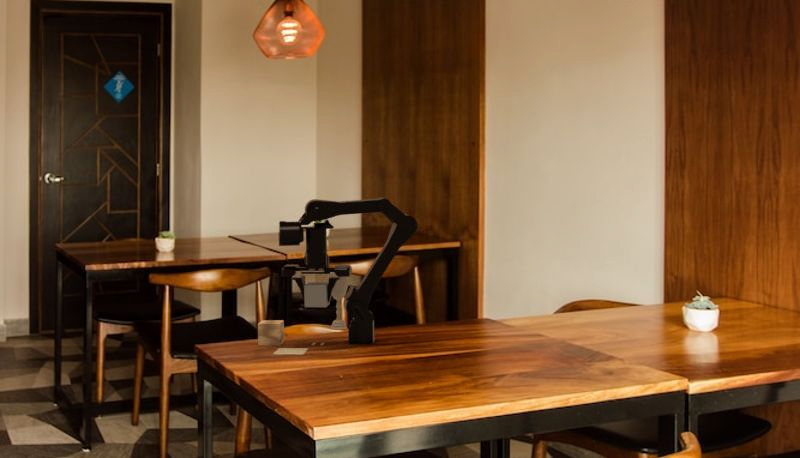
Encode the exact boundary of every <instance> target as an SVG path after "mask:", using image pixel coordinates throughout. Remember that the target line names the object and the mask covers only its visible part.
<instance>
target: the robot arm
mask: <svg viewBox="0 0 800 458" xmlns="http://www.w3.org/2000/svg"><path fill="white" fill-rule="evenodd" d="M370 213H381V214H382V215H383V216H384V217H385V218H386V219H387V220H389V222H390V223H392V225H391V227H390V230H389V233H388V237H387V240H386V241H385V243H384V245H383V246H382V248H381V249H380V251H379V252H378V254H377V255H376V258H375V259H374V260H373V262H372V263H371V265H370V267H369V269H368V270H367V272H366V273H365V275H364V276H363V278H362V279H361V281H360V283H359V284H357V285H356V286H354V285H352V284H351V285H350V287H349V289H348V290H347V292H346V293H345V295H344V297H343V299H344V300H343V308H344V310H345V312H346V314H348V315H349V316H350V317H351V320H350V321H349V322H350V323H349V326H348V327H347V333H348V342H349V345H374V343H375V342H376V338H375V320H374V319H375V317H376V316H375V314H373V312H372V311H371V310H370V309H369V308H368V307H369V304H370V302H371V299H372V295H373V292H374V290H375V288H376V286H378V284H379V282H380V280H381V278H382V277H383V276H384V274H385V272H386V270H387V269H388V268H389V265H390V264H391V262H392V261H393V259H394V258H395V256H396V255H397V253H398V251H400V248H401V247H402V246H404V244H406V243H407V242H408V241H409V240H410V239H411V237H413V235H414V234H415V233H416V232H417V230H418V228H419V227H418V226H419V225H418V222H417V220H416V218H415V217H413V216H412V215H409V214H406V213H403V211H401V210H400V209H399V208H397V206H395V205H394V204H392V202H391V201H390V200H389V199H388V198H386V197H379V198H369V199H356V200H355V199H354V200H343V201H335V200H328V199H326V200H325V199H317V198H314V199H310V200H309V201H308V202H306V204H305V207H304V212H303V214H302V215H301V217H299V219H298V221H285V220H280V221H279V222H278V223H279V226H278V235H277V237H278V246H279V247H291V246H292V247H296V246H297V247H299V246H301V243H304V241H305V252H304V257H303V263H304V264H305V266H306V267H304V266H303V267H302V266H300V265H299V264H285V265H284V266H283V265H282V267H281V276H280V277H283V278H285V277H288V278H290V277H291V280H293V281H295V284H296V285H297V287H298V288H299V291H300V293H301V296H302V298H303V301H304V302H305V297H304V285H305V284H306V275H328V274H330V275H331V277H329V282H328V281H327V282H328V296H327V298H328V302H330V303H331V298H332V292H333V289H334V286H335V284H336V282H337V280H340V279H341V278H342V277H348V278H349V277H351V276H352V275H353V270H352V269H353V268H352V266H351V264H336V265H335V266H333V267H332V266H330V256H329V255H328V245H327V244H328V241H327V240H328V239H327V238H328V237H327V233H328V232H327V231H328V230H329V229H330V230H332V229H334V225H332V224H331V222H330V221H329V219H331V218H335V217H338V216H344V215H357V214H370ZM324 220H325V221H324ZM320 221H323V222H320ZM313 222H314V223H313ZM311 223H313V225H311V226H310V224H311ZM304 230H305V232H304ZM304 233H305V234H304Z"/></svg>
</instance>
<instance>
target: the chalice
mask: <svg viewBox="0 0 800 458" xmlns="http://www.w3.org/2000/svg"><path fill="white" fill-rule="evenodd" d="M329 277H331V275H330V274H327V282H329ZM348 287H349V277H342V278H341V279H340V280H337V282H336V284H335V286H334V289H333V292H332V295H331V297H333V299H334V300H336V305H335V308H336V311H335V313H336V318H335V319H334V320H333V321H332V324H331V326H330V330H346V329H347V330H348V327H347V325H346V323H345V322H346V321H345V320H343V319H342V318H341V314H342V310H341V308H342V305H341V300H343V299H344V296H345V295H346V294H347V292H348Z"/></svg>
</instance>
